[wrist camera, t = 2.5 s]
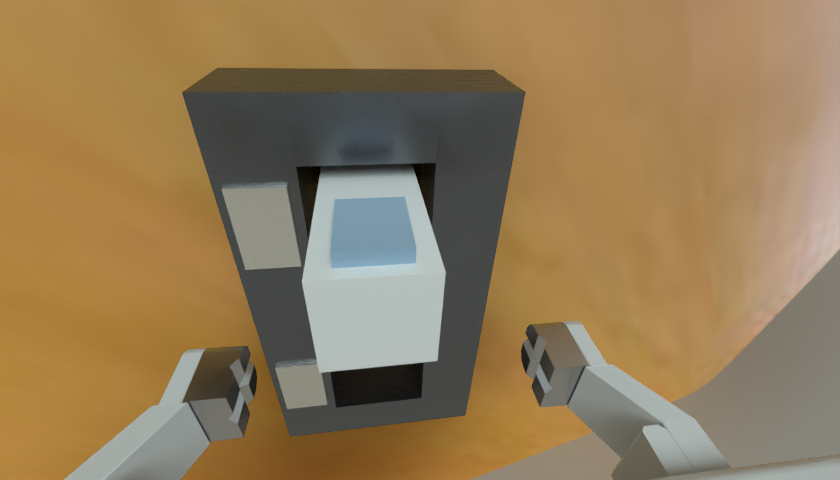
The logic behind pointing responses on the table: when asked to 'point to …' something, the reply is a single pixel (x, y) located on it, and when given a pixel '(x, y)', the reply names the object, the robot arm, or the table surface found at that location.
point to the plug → (372, 270)
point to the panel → (295, 199)
